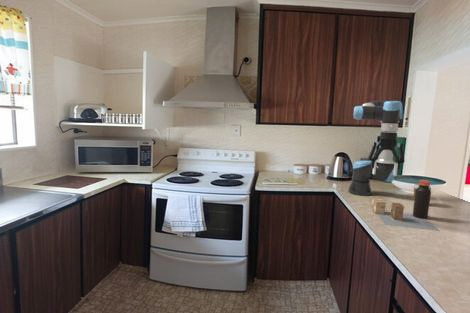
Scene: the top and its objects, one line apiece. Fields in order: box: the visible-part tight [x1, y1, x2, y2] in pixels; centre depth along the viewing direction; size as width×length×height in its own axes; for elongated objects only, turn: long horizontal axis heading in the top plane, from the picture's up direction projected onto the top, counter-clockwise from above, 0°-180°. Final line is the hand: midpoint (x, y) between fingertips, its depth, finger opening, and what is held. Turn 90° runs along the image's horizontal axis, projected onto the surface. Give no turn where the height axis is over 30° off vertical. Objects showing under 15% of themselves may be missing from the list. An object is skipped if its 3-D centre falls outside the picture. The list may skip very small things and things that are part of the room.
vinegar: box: [412, 179, 432, 219], centre depth 148 cm, size 7×7×20 cm
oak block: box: [370, 198, 386, 215], centre depth 154 cm, size 5×5×7 cm
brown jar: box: [412, 183, 432, 201], centre depth 173 cm, size 10×10×12 cm
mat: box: [377, 211, 441, 232], centre depth 144 cm, size 22×24×1 cm
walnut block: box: [390, 201, 405, 221], centre depth 145 cm, size 6×4×8 cm, turn 166°
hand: (384, 174), depth 144 cm, fingers open, 9 cm apart
